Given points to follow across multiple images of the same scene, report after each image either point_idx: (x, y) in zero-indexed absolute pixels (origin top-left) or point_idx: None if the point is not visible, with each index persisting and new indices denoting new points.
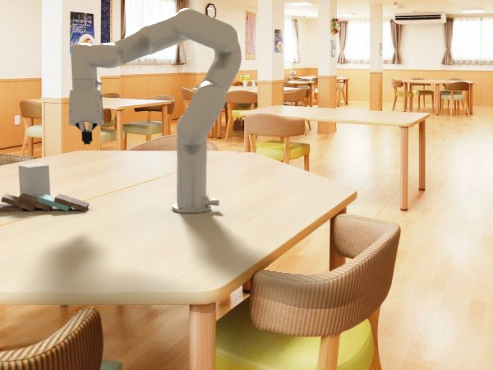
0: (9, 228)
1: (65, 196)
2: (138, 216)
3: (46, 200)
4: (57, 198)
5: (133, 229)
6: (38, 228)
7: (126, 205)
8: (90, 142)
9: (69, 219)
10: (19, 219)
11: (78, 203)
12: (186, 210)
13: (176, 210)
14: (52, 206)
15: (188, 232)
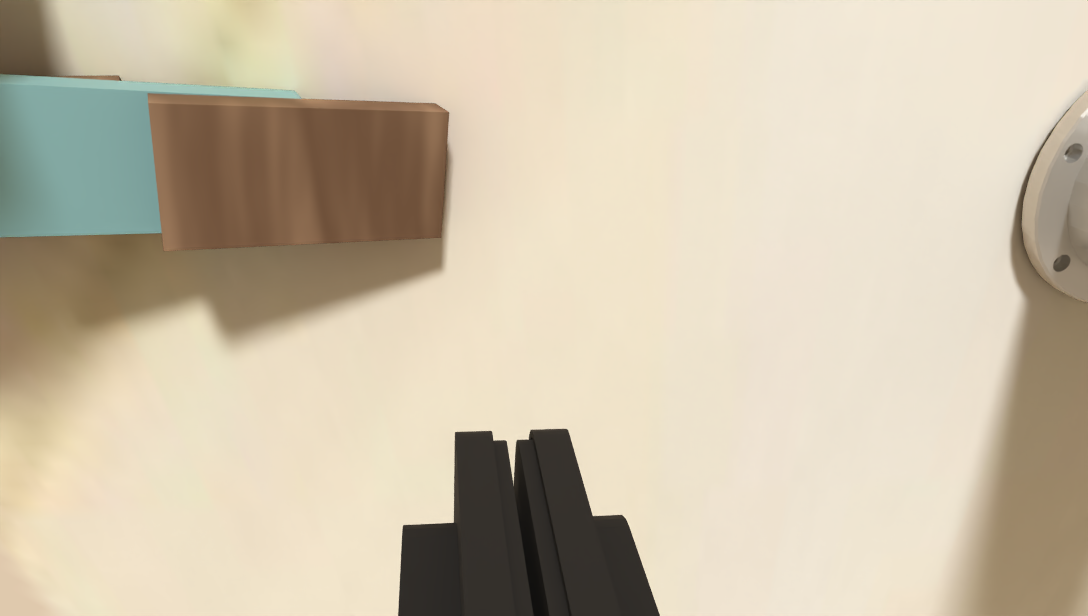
0: (68, 589)
1: (229, 135)
2: (781, 348)
3: (89, 233)
4: (189, 246)
5: (726, 569)
6: (238, 581)
7: (737, 35)
8: (566, 445)
9: (366, 417)
10: (25, 424)
11: (375, 215)
12: (1082, 300)
13: (1032, 259)
14: (119, 80)
15: (951, 593)
